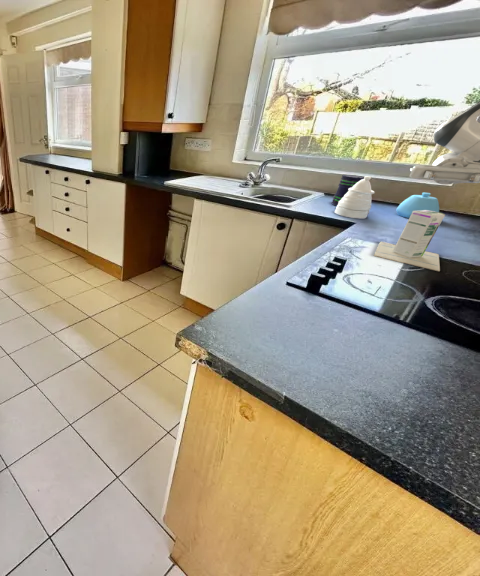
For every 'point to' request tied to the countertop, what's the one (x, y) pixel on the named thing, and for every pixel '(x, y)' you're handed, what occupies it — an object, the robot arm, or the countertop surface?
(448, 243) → the countertop surface
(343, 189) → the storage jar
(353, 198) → the honey pot
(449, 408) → the countertop surface
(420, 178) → the robot arm
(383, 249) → the wooden board
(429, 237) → the syrup box
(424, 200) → the sugar bowl
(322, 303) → the countertop surface
